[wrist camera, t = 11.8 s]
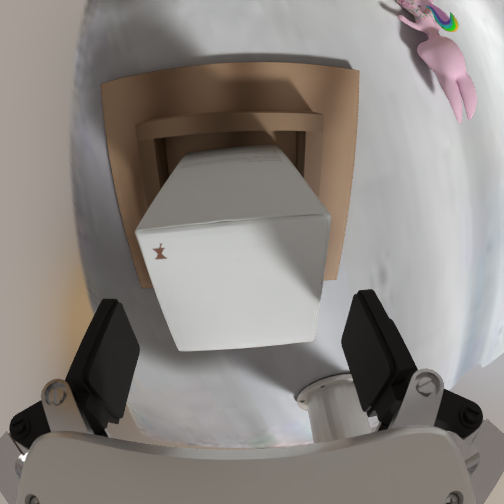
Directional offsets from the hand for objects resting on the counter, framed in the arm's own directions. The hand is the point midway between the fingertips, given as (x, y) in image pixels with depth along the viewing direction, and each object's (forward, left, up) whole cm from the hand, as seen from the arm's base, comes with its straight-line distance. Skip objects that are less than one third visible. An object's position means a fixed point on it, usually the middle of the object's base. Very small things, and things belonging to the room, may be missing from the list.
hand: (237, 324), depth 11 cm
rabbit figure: (-17, -15, -15) cm, 28 cm away
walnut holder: (0, -1, -15) cm, 15 cm away
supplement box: (0, 0, -14) cm, 14 cm away
